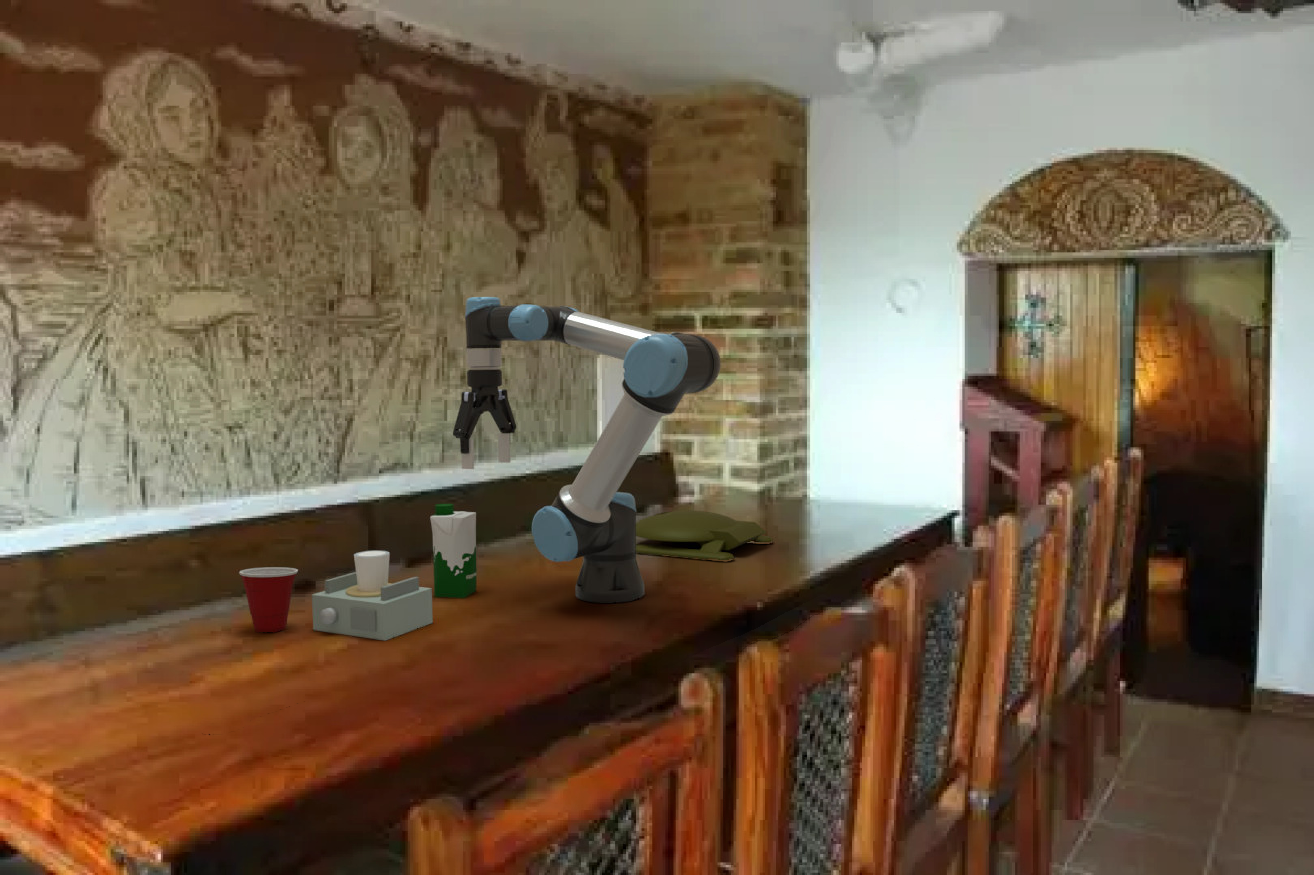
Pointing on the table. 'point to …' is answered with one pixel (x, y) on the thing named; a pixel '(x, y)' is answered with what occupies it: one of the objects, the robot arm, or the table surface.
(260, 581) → the plastic cup
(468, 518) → the milk carton
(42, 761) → the table surface
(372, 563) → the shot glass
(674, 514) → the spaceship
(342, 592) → the portable stove
